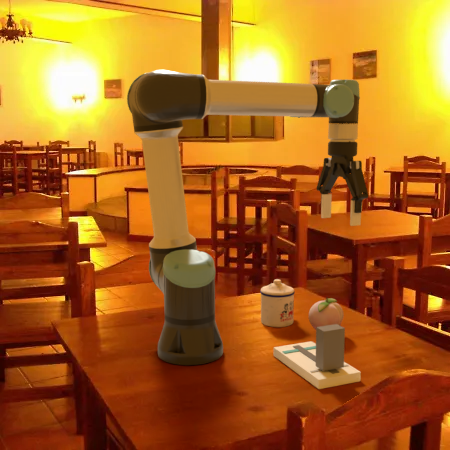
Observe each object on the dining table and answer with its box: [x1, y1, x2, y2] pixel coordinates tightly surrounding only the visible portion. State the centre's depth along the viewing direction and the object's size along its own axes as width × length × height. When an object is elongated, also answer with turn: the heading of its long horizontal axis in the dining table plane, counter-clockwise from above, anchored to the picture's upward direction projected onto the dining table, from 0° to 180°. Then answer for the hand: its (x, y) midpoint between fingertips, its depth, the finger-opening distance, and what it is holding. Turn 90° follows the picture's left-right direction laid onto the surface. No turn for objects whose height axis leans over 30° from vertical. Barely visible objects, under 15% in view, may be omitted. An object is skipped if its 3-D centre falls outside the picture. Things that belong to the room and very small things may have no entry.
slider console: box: [273, 341, 362, 390], centre depth 140 cm, size 10×20×2 cm, turn 23°
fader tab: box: [315, 324, 346, 371], centre depth 134 cm, size 5×3×8 cm, turn 113°
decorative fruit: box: [308, 296, 345, 331], centre depth 160 cm, size 9×8×10 cm
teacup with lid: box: [260, 278, 295, 328], centre depth 172 cm, size 12×9×12 cm
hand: (340, 221), depth 170 cm, fingers open, 13 cm apart
